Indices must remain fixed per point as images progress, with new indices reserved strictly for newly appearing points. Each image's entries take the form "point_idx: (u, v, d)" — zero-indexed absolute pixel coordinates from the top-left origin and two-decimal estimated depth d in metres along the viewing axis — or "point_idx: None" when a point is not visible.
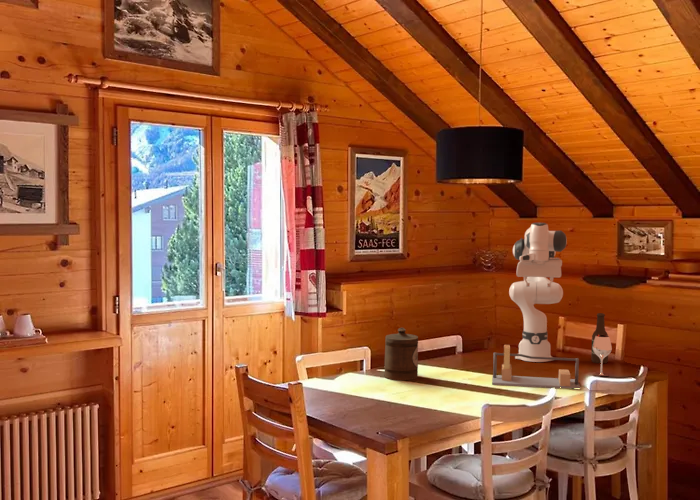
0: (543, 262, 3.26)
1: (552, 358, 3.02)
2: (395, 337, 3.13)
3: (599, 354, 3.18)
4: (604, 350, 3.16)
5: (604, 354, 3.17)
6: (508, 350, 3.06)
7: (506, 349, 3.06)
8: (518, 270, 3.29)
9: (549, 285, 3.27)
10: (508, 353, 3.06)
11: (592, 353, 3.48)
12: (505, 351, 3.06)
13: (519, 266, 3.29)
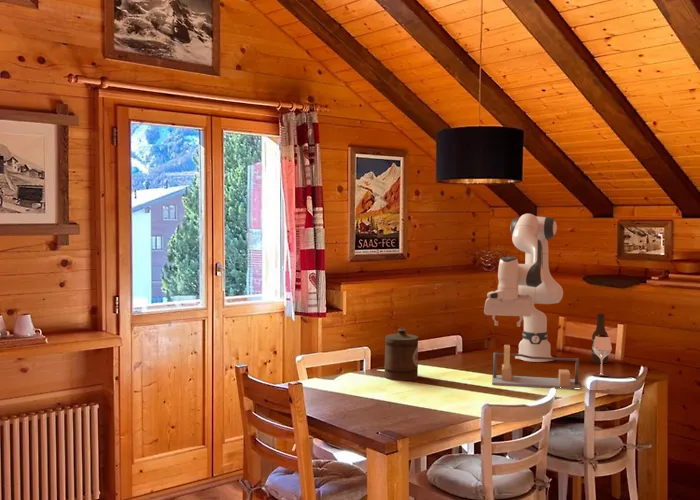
0: (512, 300, 3.06)
1: (552, 358, 3.02)
2: (395, 337, 3.13)
3: (599, 354, 3.18)
4: (604, 350, 3.16)
5: (604, 354, 3.17)
6: (508, 350, 3.06)
7: (506, 349, 3.06)
8: (486, 308, 3.09)
9: (518, 324, 3.07)
10: (508, 353, 3.06)
11: (592, 353, 3.48)
12: (505, 351, 3.06)
13: (487, 304, 3.08)
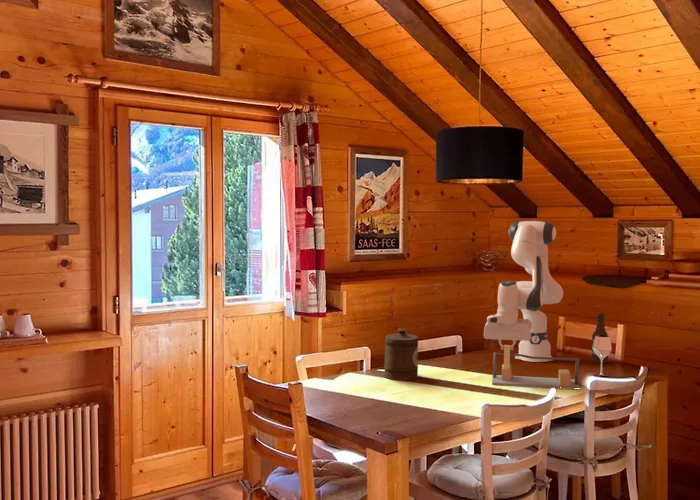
0: (512, 325, 3.06)
1: (552, 358, 3.02)
2: (395, 337, 3.13)
3: (599, 354, 3.18)
4: (604, 350, 3.16)
5: (604, 354, 3.17)
6: (508, 350, 3.06)
7: (506, 349, 3.06)
8: (485, 332, 3.09)
9: (511, 348, 3.09)
10: (508, 353, 3.06)
11: (592, 353, 3.48)
12: (505, 351, 3.06)
13: (486, 328, 3.09)
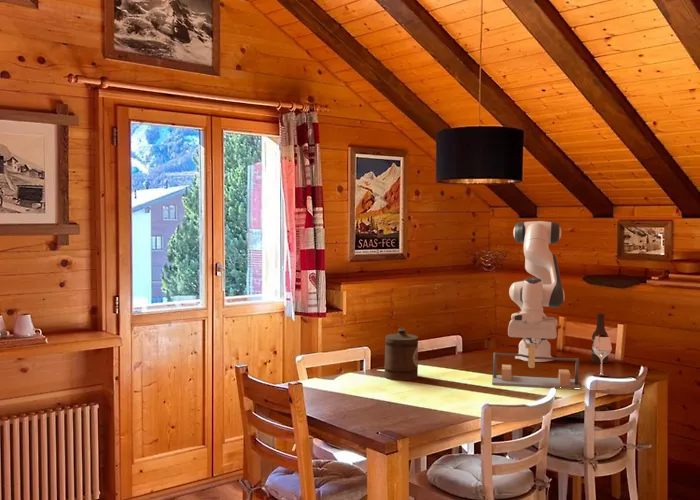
0: (537, 322, 3.00)
1: (552, 358, 3.02)
2: (395, 337, 3.13)
3: (599, 354, 3.18)
4: (604, 350, 3.16)
5: (604, 354, 3.17)
6: (533, 348, 3.00)
7: (531, 347, 3.00)
8: (510, 330, 3.03)
9: (536, 346, 3.02)
10: (533, 351, 3.00)
11: (592, 353, 3.48)
12: (530, 349, 3.00)
13: (511, 326, 3.03)
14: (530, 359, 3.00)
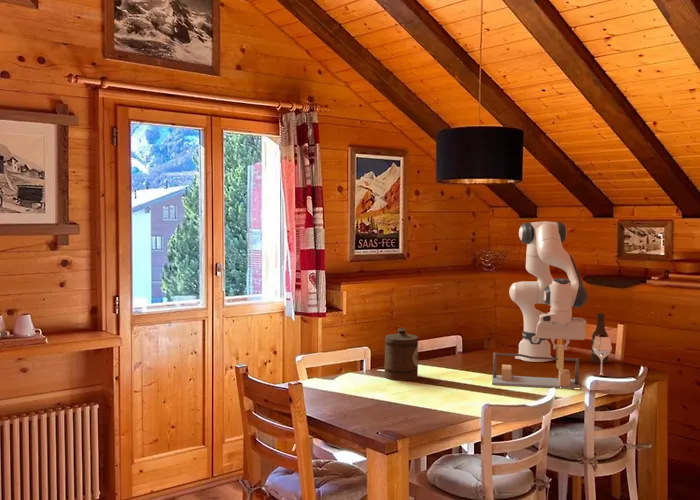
0: (566, 323, 2.98)
1: (552, 358, 3.02)
2: (395, 337, 3.13)
3: (599, 354, 3.18)
4: (604, 350, 3.16)
5: (604, 354, 3.17)
6: (562, 350, 2.97)
7: (560, 349, 2.97)
8: (538, 331, 3.01)
9: (565, 347, 3.00)
10: (562, 353, 2.97)
11: (592, 353, 3.48)
12: (559, 351, 2.97)
13: (539, 327, 3.00)
14: (559, 360, 2.98)
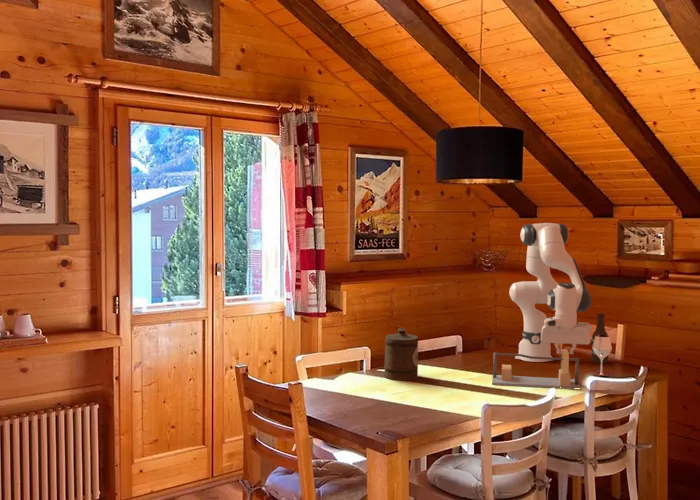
0: (570, 328, 2.98)
1: (552, 358, 3.02)
2: (395, 337, 3.13)
3: (599, 354, 3.18)
4: (604, 350, 3.16)
5: (604, 354, 3.17)
6: (567, 355, 2.97)
7: (565, 353, 2.97)
8: (543, 336, 3.00)
9: (571, 352, 3.00)
10: (567, 358, 2.97)
11: (592, 353, 3.48)
12: (564, 356, 2.97)
13: (544, 332, 3.00)
14: (564, 365, 2.97)
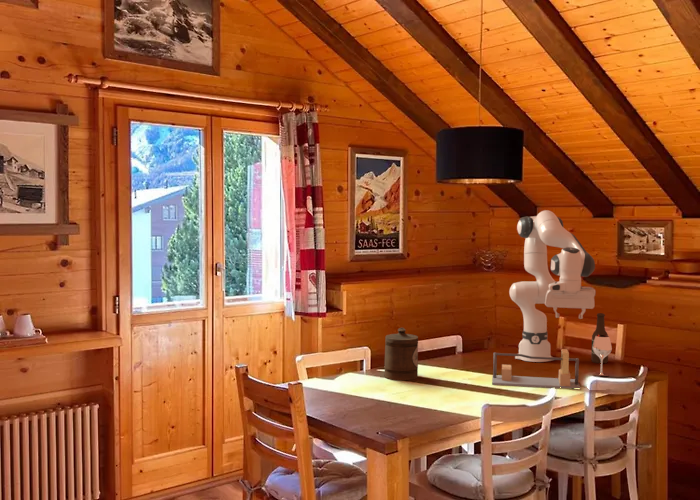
0: (575, 292, 3.00)
1: (552, 358, 3.02)
2: (395, 337, 3.13)
3: (599, 354, 3.18)
4: (604, 350, 3.16)
5: (604, 354, 3.17)
6: (567, 355, 2.97)
7: (565, 353, 2.97)
8: (547, 300, 3.03)
9: (581, 316, 3.01)
10: (567, 358, 2.97)
11: (592, 353, 3.48)
12: (564, 356, 2.97)
13: (548, 296, 3.02)
14: (564, 365, 2.97)
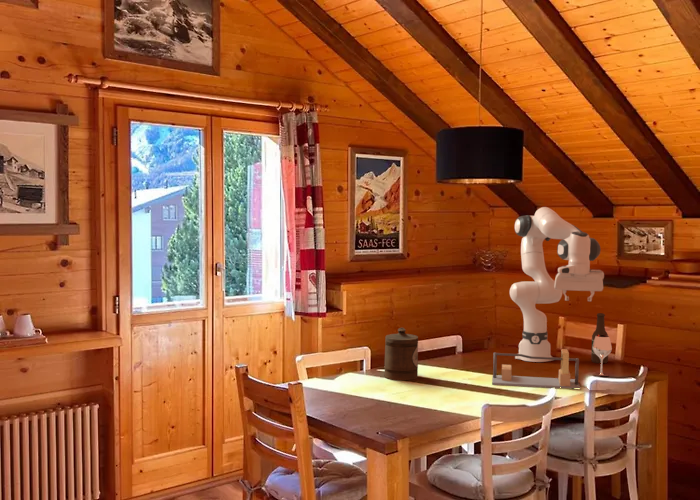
0: (584, 275, 3.06)
1: (552, 358, 3.02)
2: (395, 337, 3.13)
3: (599, 354, 3.18)
4: (604, 350, 3.16)
5: (604, 354, 3.17)
6: (567, 355, 2.97)
7: (565, 353, 2.97)
8: (557, 283, 3.09)
9: (590, 299, 3.07)
10: (567, 358, 2.97)
11: (592, 353, 3.48)
12: (564, 356, 2.97)
13: (558, 279, 3.08)
14: (564, 365, 2.97)
